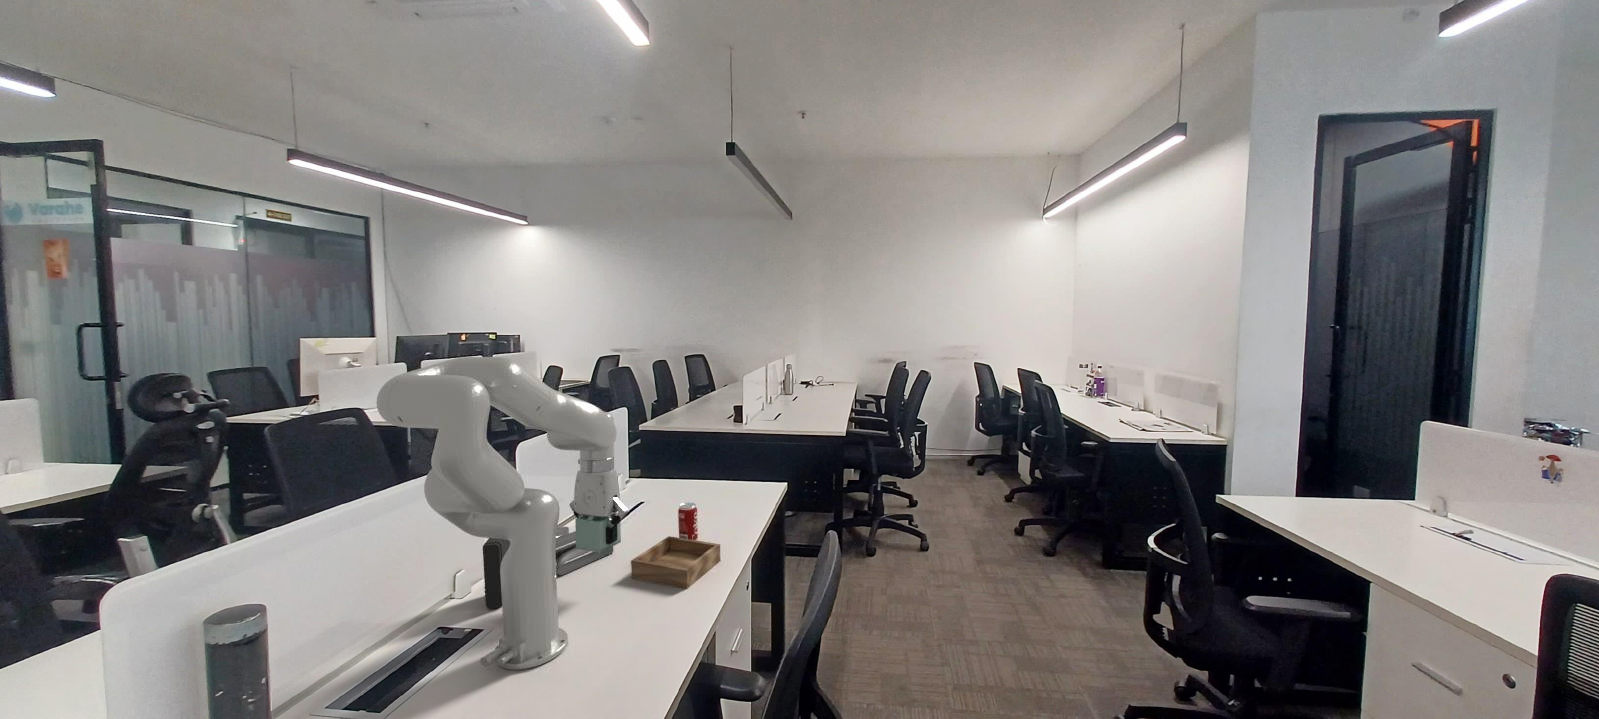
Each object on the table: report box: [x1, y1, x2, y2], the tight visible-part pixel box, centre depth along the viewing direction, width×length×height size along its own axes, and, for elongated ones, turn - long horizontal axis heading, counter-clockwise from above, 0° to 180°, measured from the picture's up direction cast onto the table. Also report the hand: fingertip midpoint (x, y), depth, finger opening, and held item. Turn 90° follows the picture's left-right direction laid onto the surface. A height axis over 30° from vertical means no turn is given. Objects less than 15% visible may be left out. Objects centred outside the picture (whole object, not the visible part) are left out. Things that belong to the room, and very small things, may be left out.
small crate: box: [575, 512, 622, 553], centre depth 127 cm, size 7×7×7 cm
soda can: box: [677, 502, 699, 541], centre depth 152 cm, size 5×5×12 cm
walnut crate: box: [630, 535, 721, 590], centre depth 139 cm, size 16×16×4 cm
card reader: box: [482, 538, 510, 610], centre depth 124 cm, size 9×4×15 cm, turn 14°
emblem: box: [555, 526, 614, 576], centre depth 148 cm, size 28×5×28 cm
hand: (598, 539), depth 127 cm, fingers closed on small crate, 7 cm apart
